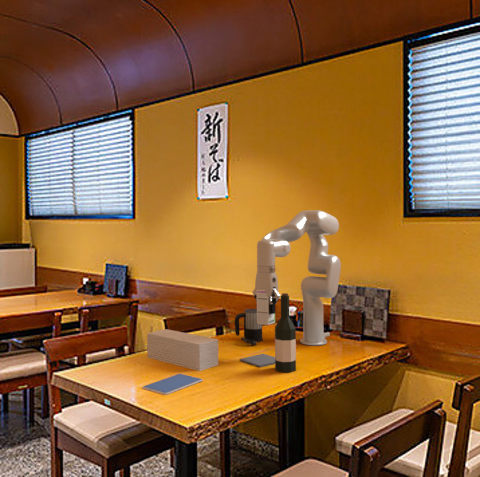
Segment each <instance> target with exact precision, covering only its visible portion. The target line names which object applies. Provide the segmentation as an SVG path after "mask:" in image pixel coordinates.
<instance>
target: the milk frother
mask: <svg viewBox="0 0 480 477" xmlns="http://www.w3.org/2000/svg"><path fill="white" fill-rule="evenodd" d="M243 311H244V312H240V313H237V314H236V315H235V317H234V330H235V332H234V333H235V335H236V337H239V336H240V334H241V333H240V319H241V318H242V319H243V337H241V338H240V340H241V341H243V342H245V343H247V344H249V345H251V346H253V345H257V343H259V342H263V324H257V308H246V309H244V310H243Z"/></svg>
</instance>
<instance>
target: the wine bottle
mask: <svg viewBox="0 0 480 477" xmlns="http://www.w3.org/2000/svg"><path fill="white" fill-rule="evenodd" d="M275 324H276V325H274V352H275V353H274V357H275V364H274V367H275V368H274V369H275V371H276V372H278V373H283V374H287V373H288V374H289V373H294V372H295V371H296V370H297V365H296V364H297V357H296V356H297V351H296V350H297V349H296V348H297V342H296V340H297V339H296V335H297V334H296V332H297V331H296V326H295V325H294V323H293V321H292V320H291V317H290V295H289V293H286V292H283V293H281V295H280V318H279V319H278V320H277V322H276V323H275Z"/></svg>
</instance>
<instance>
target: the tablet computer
mask: <svg viewBox="0 0 480 477" xmlns="http://www.w3.org/2000/svg"><path fill="white" fill-rule="evenodd" d="M203 380H204V379H203V378H201V377H195V376H192V375H189V374H188V375H187V374H183V373H178V374H174V375H171V376H169V377H166V378H164V379H160V380H158V381H154V382H152V383H149V384H146V385H143V386H142V389H143V390H145V391H149V392H151V393H152V392H153V393H157V394H160V395H164V396H167V395H171V394H172V393H174V392H175V393H176V392H178V391H181V390H183V389H186V388H188V387H190V386H193V385H196V384H198V383H199V384H200V383H201V382H203Z"/></svg>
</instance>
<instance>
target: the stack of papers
mask: <svg viewBox="0 0 480 477" xmlns="http://www.w3.org/2000/svg"><path fill="white" fill-rule="evenodd" d="M146 335H147V336H146V337H147V340H146V341H147V345H146V346H147V358H149V359H153V360H156V361H160V362H164V363H167V364H171V365H175V366H178V367H182V368H186V369H191V370H194V371H198V372H201V371H204V370H208V369H211V368H213V367H216V366H219V339H216V338H211V337H208V336H204V335H203V336H202V335H199V334H198V335H197V334H192V333H188V332H183V331H178V330H172V329H167V328H166V329H160V330H156V331H152V332H151V331H150V332H147V333H146Z"/></svg>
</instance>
